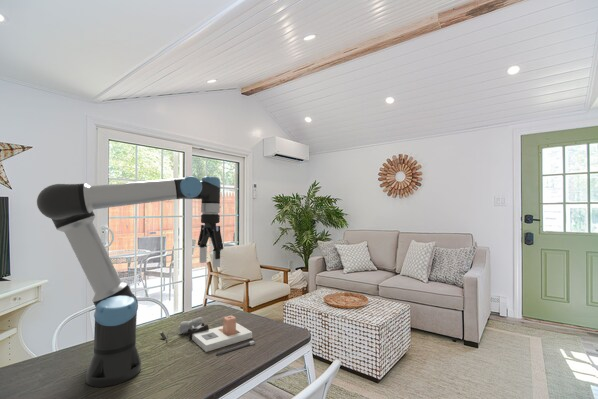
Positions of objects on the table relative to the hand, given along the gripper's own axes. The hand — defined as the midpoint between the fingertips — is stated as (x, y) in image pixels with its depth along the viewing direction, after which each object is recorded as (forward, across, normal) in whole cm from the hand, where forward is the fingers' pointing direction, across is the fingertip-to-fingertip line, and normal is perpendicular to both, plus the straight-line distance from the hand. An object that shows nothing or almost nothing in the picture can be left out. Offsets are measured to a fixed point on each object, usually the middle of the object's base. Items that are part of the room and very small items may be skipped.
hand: (209, 264), depth 125 cm
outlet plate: (+30, -3, -5) cm, 31 cm away
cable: (+30, -15, -4) cm, 34 cm away
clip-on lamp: (+31, +10, +6) cm, 33 cm away
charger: (+30, -3, -8) cm, 32 cm away
